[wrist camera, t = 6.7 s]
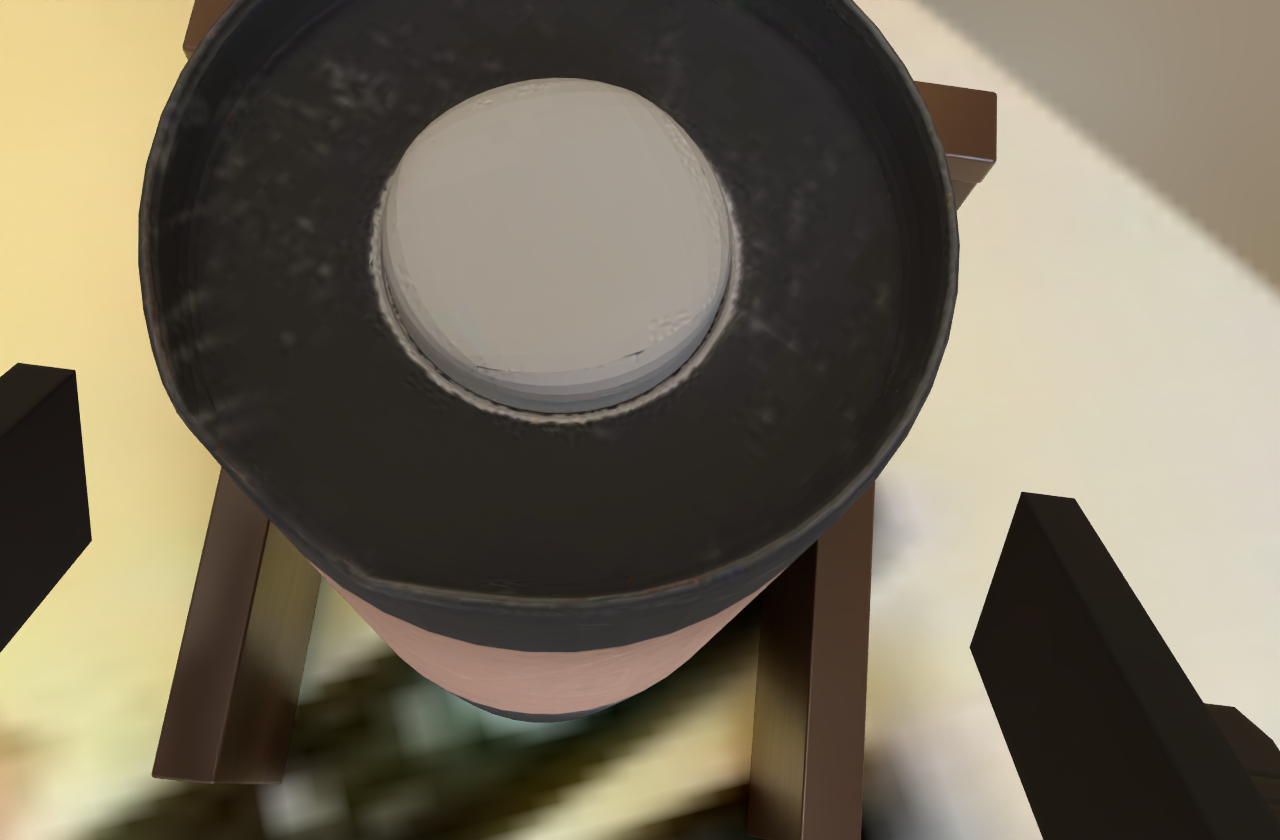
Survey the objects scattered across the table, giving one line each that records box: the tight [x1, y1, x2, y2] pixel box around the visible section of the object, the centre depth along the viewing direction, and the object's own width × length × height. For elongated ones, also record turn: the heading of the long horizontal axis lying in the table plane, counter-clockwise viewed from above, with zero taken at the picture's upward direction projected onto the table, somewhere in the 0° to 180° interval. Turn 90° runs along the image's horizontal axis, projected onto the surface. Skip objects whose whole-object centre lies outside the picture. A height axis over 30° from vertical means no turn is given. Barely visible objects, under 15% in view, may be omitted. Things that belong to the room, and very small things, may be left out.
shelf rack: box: [152, 0, 997, 840], centre depth 23 cm, size 14×13×13 cm
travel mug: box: [138, 0, 960, 722], centre depth 20 cm, size 8×8×20 cm
